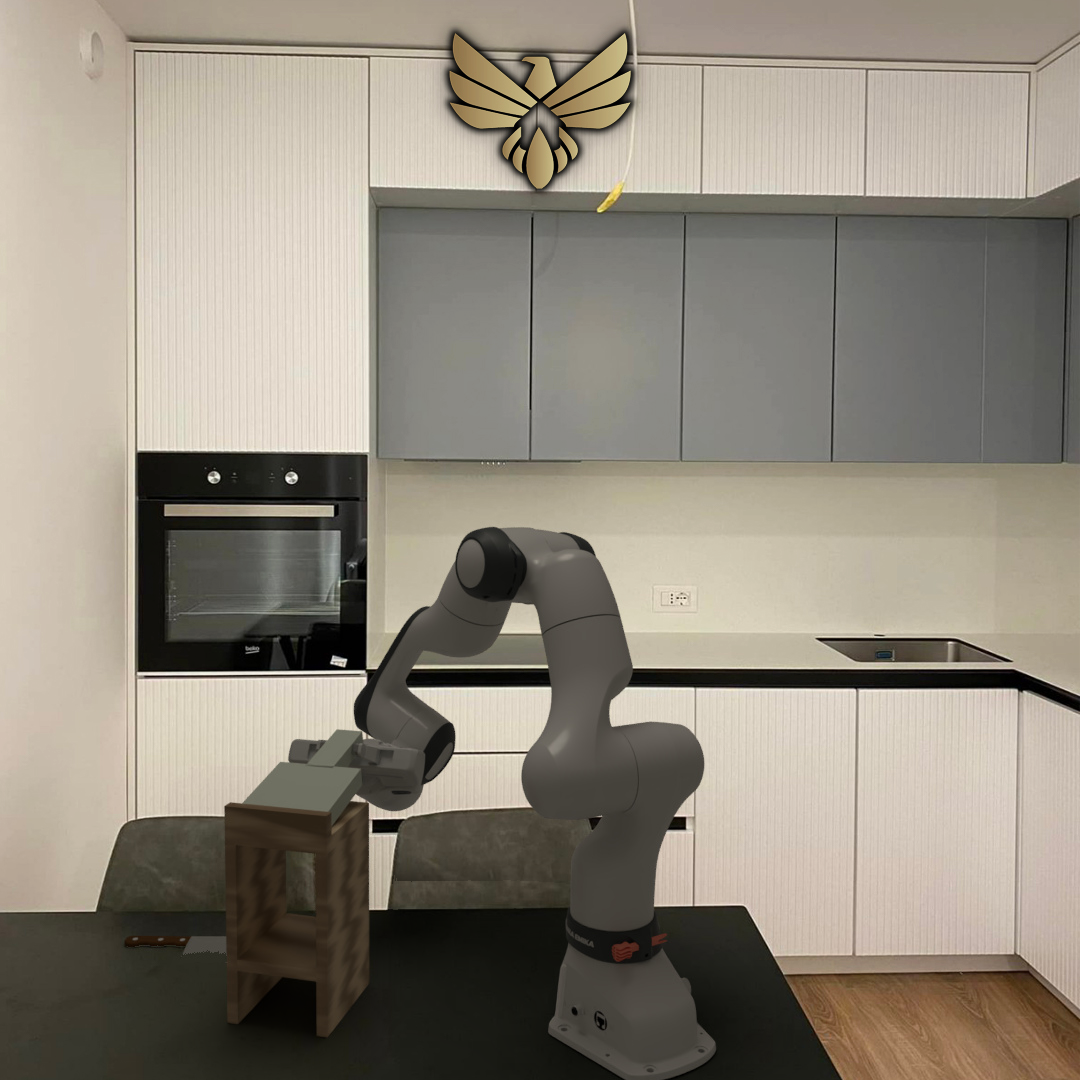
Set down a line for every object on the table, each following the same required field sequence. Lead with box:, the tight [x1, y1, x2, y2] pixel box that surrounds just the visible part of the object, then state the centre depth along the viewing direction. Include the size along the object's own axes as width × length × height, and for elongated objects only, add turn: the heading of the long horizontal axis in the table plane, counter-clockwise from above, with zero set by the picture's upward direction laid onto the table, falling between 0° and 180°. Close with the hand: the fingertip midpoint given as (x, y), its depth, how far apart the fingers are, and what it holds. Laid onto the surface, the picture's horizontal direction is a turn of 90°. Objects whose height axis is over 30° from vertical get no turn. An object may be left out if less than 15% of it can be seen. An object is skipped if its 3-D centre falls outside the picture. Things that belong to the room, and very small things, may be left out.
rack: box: [223, 800, 370, 1038], centre depth 143 cm, size 14×14×29 cm
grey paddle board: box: [242, 729, 364, 827], centre depth 147 cm, size 22×12×2 cm, turn 167°
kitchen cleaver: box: [124, 935, 226, 955], centre depth 158 cm, size 24×1×10 cm
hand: (338, 746), depth 154 cm, fingers closed on grey paddle board, 4 cm apart
